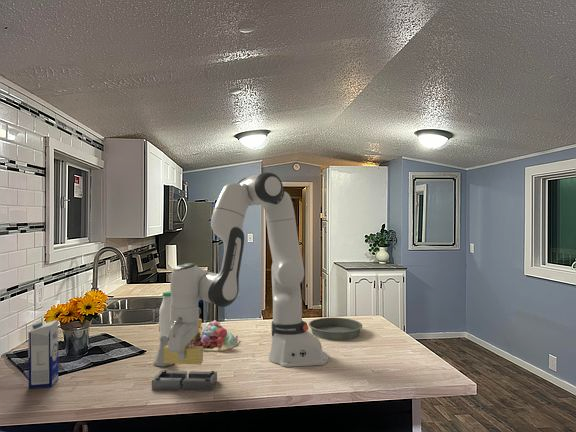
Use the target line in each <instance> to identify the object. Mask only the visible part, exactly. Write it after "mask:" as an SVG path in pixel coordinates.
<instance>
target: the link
mask: <svg viewBox="0 0 576 432" xmlns="http://www.w3.org/2000/svg"><path fill="white" fill-rule="evenodd" d="M185 378H188V371H186V370H185V371H184V370H166V369H163V370H160V371H158V373H156V375H155V376H154V377H153V378H152V379H151V390H152V391H181V390H182V389H183V380H184V379H185Z"/></svg>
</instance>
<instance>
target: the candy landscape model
mask: <svg viewBox="0 0 576 432" xmlns="http://www.w3.org/2000/svg"><path fill="white" fill-rule="evenodd" d="M202 324H203V319H202V318H199V325H198V332H197V335H196V336H195V337H194V338H193V339H192V340H191V341H190V346H203V352H208V353H209V352H210V353H211V352H212V353H213V352H214V353H218V352H219V351H221V352H225V351H228V350H231V349H233V348H235V347H236V346H238V345H239V344H240V340H239V337H238V335H234V334H233V333H232V332H231V331H228V330H227V329H226V328H224V327H223V325H221V323H220V321H217V320H215V319H214V320H213V321H207V322H206V323H205V326H202Z"/></svg>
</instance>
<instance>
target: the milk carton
mask: <svg viewBox="0 0 576 432" xmlns="http://www.w3.org/2000/svg"><path fill="white" fill-rule="evenodd" d="M58 326H59V320H58V319H57V320H52V321H48V322H45V323H43V322H42V321H41V322H38V323H35V324H33V325H32V329H30V330H29V331H27V337H28V338H27V340H28V341H27V346H28V347H27V348H28V349H27V353H28V354H27V355H28V358H27V359H28V363H27V366H28V389H39V388H41V389H42V388H52V387H53V386H54V385H55V383H56V382H57V381H58V379H59V337H58V336H59V330H58V329H59V327H58Z"/></svg>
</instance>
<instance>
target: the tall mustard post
mask: <svg viewBox="0 0 576 432" xmlns="http://www.w3.org/2000/svg"><path fill="white" fill-rule="evenodd" d="M168 345H169V344H168ZM168 345H166V346H165V347H164V363H172V365H173V364H175V365H176V364H178V365H198V366H199V365H202V363H203V361H204V359H203V358H204V354H203V353H204V351H203V346H185V349H184V353H185V359H184V360H179V359H178V352H170V351H169V348H168Z"/></svg>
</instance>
